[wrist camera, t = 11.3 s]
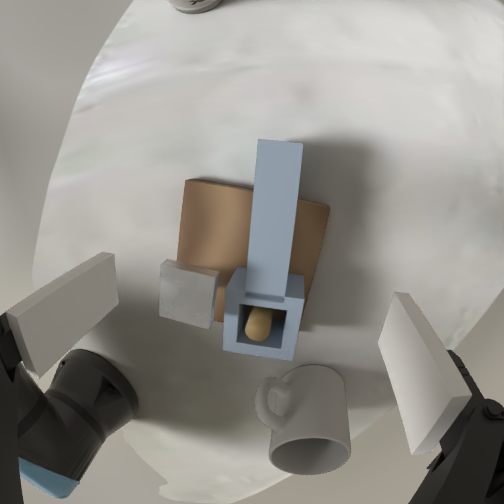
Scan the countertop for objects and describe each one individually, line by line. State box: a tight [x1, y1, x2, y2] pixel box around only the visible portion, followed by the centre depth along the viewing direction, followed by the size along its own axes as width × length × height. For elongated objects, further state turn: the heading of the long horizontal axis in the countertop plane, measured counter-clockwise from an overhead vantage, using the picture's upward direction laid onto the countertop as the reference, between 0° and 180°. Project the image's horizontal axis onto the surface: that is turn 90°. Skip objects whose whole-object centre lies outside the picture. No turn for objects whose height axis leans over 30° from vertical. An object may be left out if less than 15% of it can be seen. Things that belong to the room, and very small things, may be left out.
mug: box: [255, 365, 351, 475], centre depth 29 cm, size 12×8×11 cm
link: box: [223, 139, 304, 361], centre depth 25 cm, size 18×6×5 cm, turn 176°
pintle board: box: [177, 179, 330, 341], centre depth 26 cm, size 14×14×8 cm
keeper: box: [159, 259, 220, 330], centre depth 26 cm, size 5×5×7 cm
